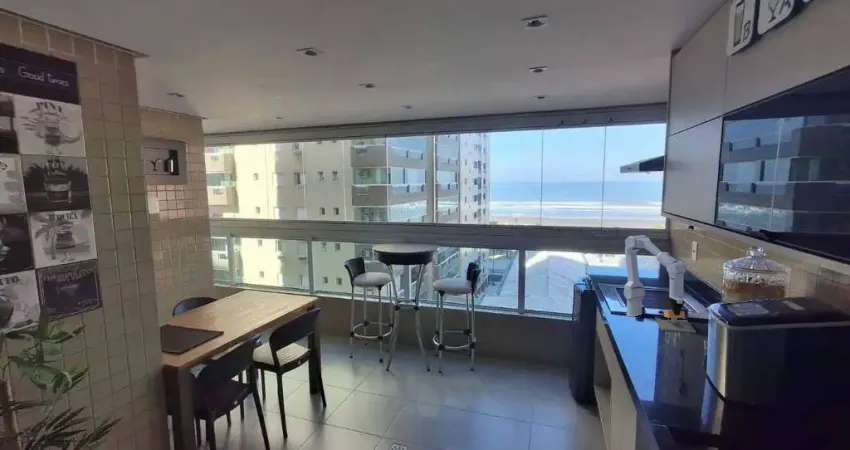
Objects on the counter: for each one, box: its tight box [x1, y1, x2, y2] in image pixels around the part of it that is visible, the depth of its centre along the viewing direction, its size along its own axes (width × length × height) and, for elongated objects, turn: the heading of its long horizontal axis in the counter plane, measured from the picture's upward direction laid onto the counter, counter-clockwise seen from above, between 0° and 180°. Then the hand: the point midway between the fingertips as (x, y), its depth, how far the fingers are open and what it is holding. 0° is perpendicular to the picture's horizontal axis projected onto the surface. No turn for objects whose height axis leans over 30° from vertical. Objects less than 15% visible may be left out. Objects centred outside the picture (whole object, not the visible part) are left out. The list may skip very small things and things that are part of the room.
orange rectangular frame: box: [663, 309, 686, 319], centre depth 198 cm, size 11×7×4 cm, turn 158°
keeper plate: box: [654, 316, 697, 334], centre depth 198 cm, size 20×14×6 cm
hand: (676, 314), depth 193 cm, fingers closed on orange rectangular frame, 2 cm apart
